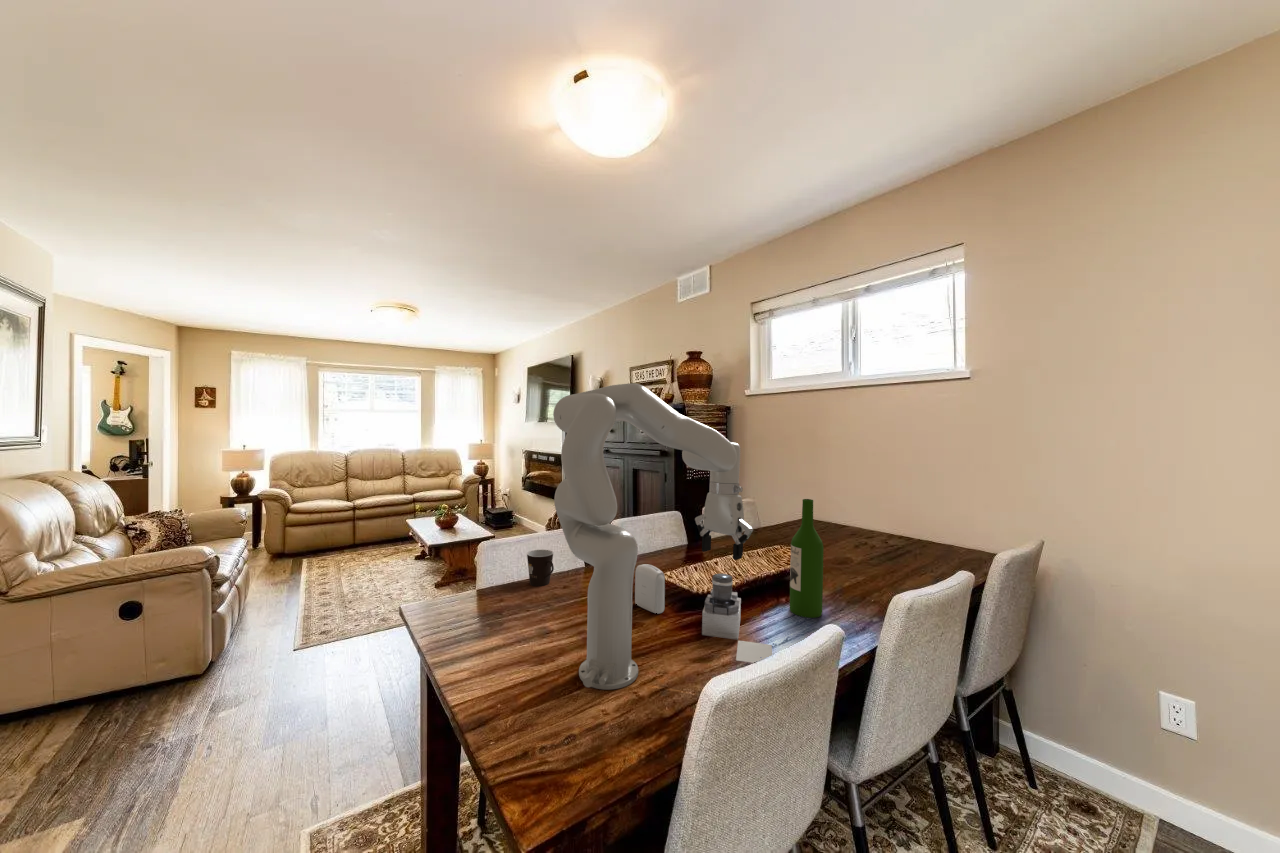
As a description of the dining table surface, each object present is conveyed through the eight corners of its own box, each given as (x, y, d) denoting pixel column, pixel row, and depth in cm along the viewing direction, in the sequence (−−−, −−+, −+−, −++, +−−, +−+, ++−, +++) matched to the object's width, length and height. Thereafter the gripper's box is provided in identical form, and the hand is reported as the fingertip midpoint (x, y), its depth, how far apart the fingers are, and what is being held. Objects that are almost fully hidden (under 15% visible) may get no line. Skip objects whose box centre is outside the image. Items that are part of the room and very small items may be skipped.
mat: (772, 667, 102) (772, 665, 102) (735, 661, 104) (736, 660, 104) (771, 646, 112) (771, 644, 112) (738, 642, 114) (738, 640, 114)
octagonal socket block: (738, 641, 114) (738, 607, 114) (701, 636, 117) (702, 603, 117) (740, 619, 127) (741, 589, 127) (707, 615, 129) (708, 586, 129)
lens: (736, 607, 120) (736, 576, 120) (724, 613, 117) (725, 580, 117) (719, 601, 124) (719, 571, 124) (707, 606, 120) (708, 575, 120)
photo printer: (632, 604, 137) (633, 562, 137) (643, 600, 139) (644, 560, 139) (655, 615, 129) (656, 571, 129) (666, 612, 132) (667, 568, 131)
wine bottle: (782, 607, 136) (785, 497, 136) (807, 604, 139) (809, 496, 139) (803, 619, 128) (806, 502, 128) (829, 615, 131) (831, 501, 131)
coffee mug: (525, 579, 156) (526, 550, 156) (551, 577, 159) (551, 548, 159) (527, 592, 145) (528, 560, 145) (555, 589, 148) (556, 558, 148)
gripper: (761, 492, 117) (758, 560, 117) (705, 484, 129) (703, 546, 129) (745, 494, 111) (742, 565, 111) (689, 486, 124) (686, 550, 123)
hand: (721, 554), depth 120 cm, fingers open, 9 cm apart
